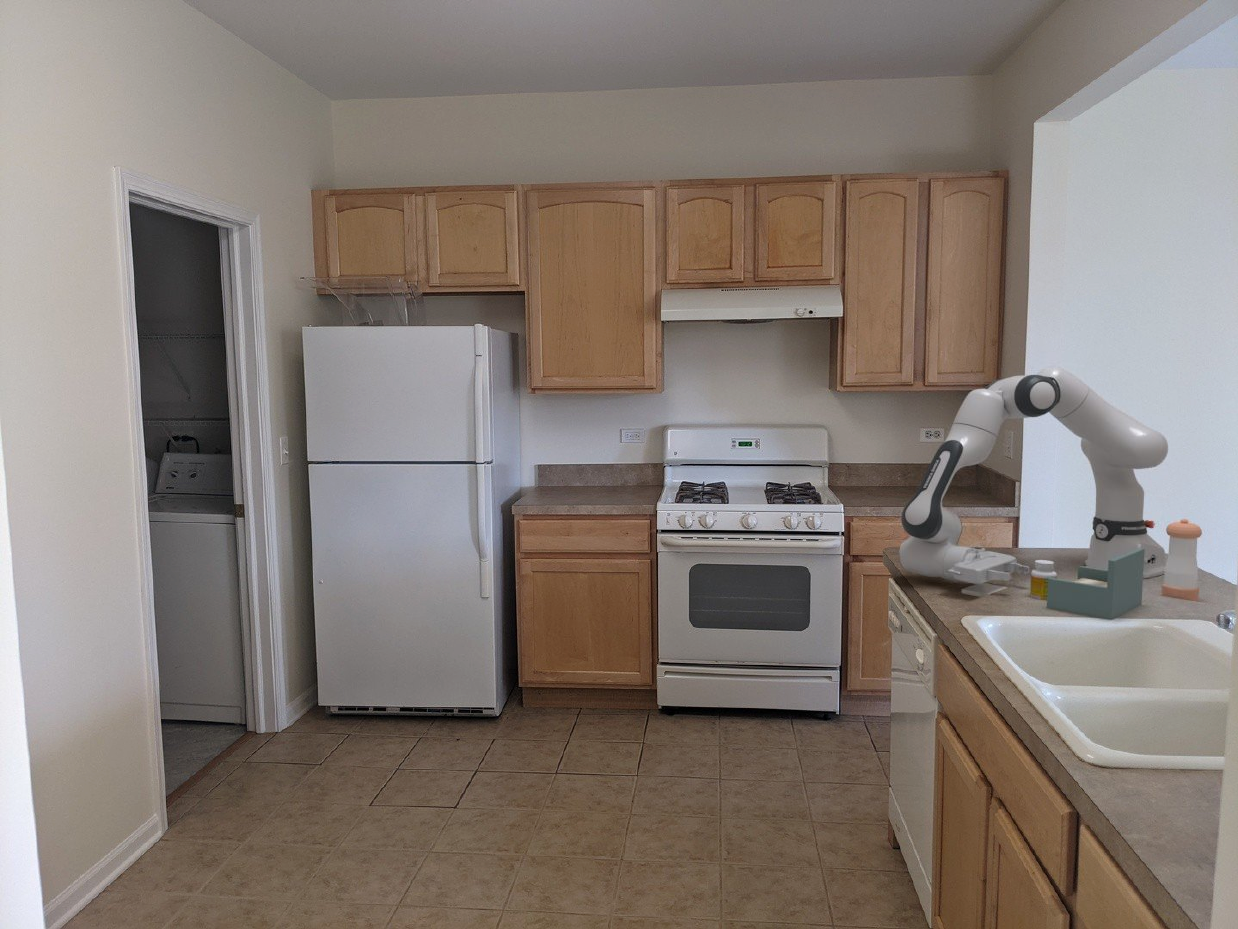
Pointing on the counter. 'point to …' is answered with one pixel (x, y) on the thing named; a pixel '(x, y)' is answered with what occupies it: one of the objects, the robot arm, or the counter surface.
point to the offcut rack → (1101, 588)
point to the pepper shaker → (1182, 561)
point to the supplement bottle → (1041, 578)
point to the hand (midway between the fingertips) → (1019, 573)
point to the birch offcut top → (1091, 582)
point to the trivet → (982, 589)
